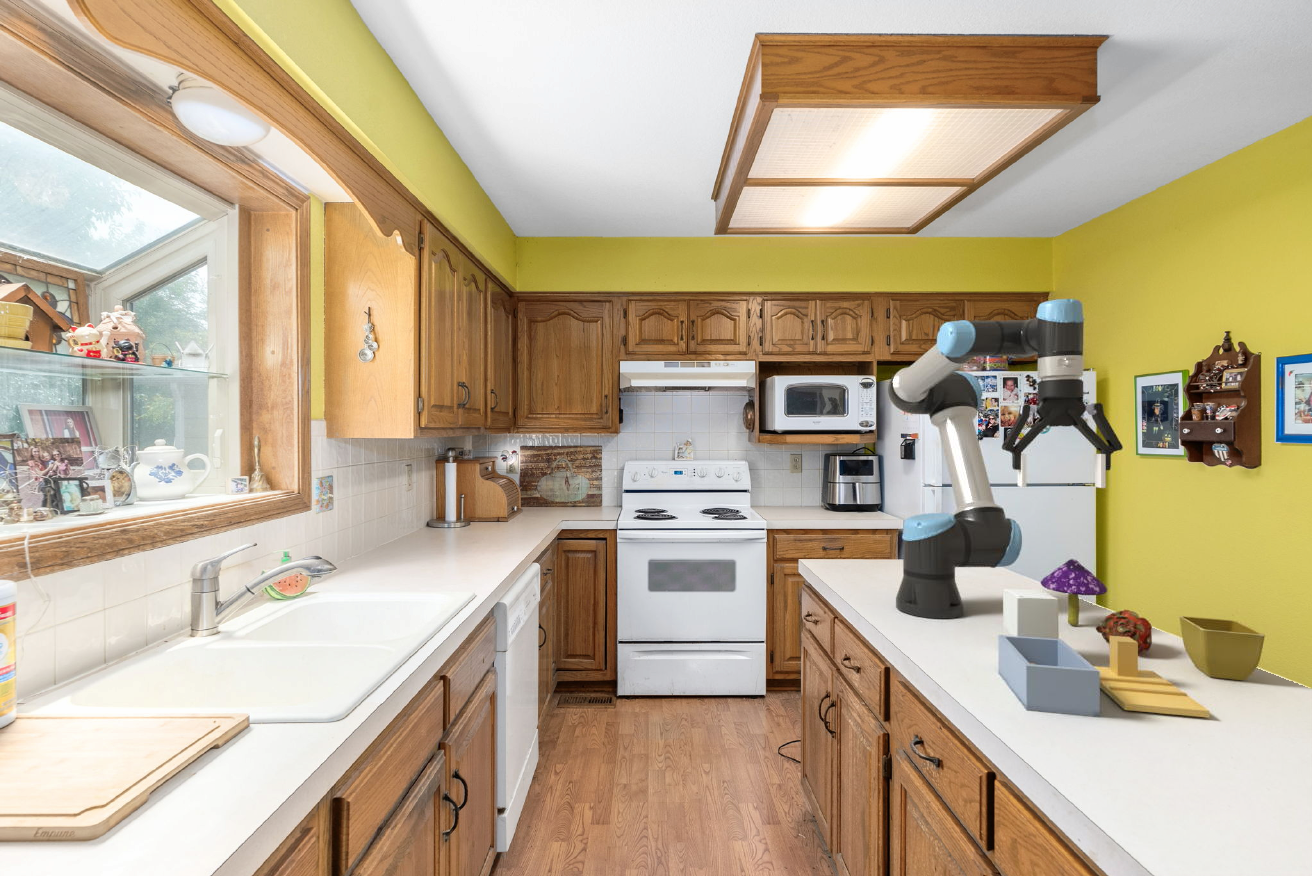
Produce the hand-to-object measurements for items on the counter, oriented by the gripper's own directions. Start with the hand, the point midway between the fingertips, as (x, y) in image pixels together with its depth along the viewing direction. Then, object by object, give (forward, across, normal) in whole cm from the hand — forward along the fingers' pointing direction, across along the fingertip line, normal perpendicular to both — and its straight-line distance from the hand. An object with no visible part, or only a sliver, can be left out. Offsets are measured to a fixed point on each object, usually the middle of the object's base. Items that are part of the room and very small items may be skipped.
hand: (1060, 487), depth 120 cm
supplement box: (+33, -7, -5) cm, 34 cm away
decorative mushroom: (+33, +9, +19) cm, 39 cm away
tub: (+33, -10, -22) cm, 41 cm away
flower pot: (+33, +23, -6) cm, 41 cm away
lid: (+32, +5, -19) cm, 38 cm away
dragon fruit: (+33, +13, +5) cm, 36 cm away
